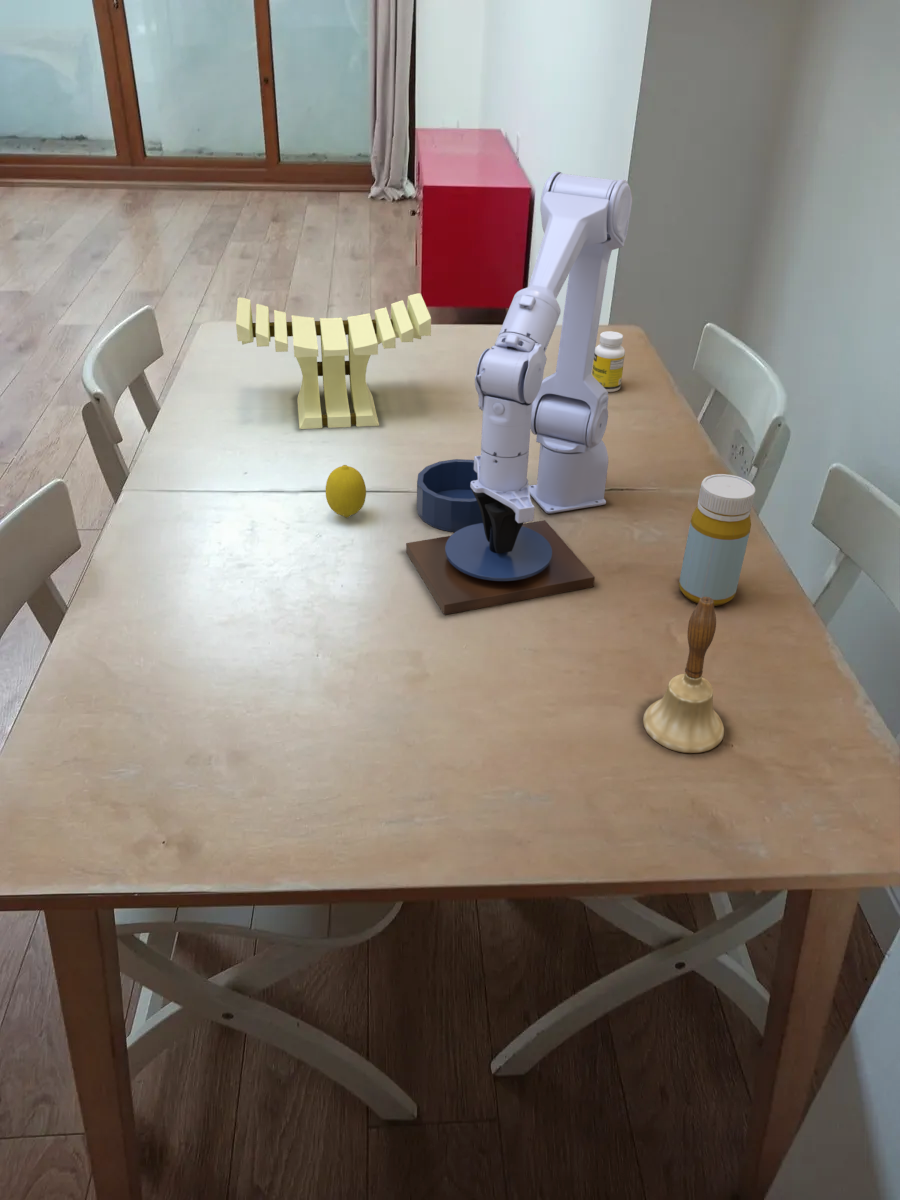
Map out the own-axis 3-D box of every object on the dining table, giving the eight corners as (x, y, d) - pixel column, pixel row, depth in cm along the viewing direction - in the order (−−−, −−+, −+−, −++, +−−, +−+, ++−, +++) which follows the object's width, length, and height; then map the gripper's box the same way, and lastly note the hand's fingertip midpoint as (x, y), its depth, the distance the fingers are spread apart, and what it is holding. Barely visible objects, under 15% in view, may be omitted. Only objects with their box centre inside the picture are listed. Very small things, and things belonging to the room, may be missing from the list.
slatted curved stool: (417, 387, 175) (418, 287, 165) (429, 423, 162) (431, 318, 152) (248, 393, 171) (238, 291, 161) (246, 431, 158) (235, 323, 148)
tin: (486, 484, 145) (488, 454, 142) (520, 524, 135) (522, 493, 132) (405, 496, 141) (405, 465, 138) (434, 538, 131) (434, 507, 128)
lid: (525, 522, 131) (528, 493, 129) (569, 574, 121) (572, 543, 118) (430, 538, 127) (431, 508, 125) (467, 593, 117) (468, 561, 114)
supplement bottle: (584, 384, 178) (590, 331, 172) (610, 380, 180) (616, 328, 174) (600, 394, 174) (607, 341, 168) (626, 390, 176) (633, 337, 170)
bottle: (737, 583, 124) (761, 478, 115) (731, 613, 118) (756, 504, 110) (682, 572, 126) (701, 468, 117) (674, 601, 120) (694, 494, 112)
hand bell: (672, 762, 97) (699, 633, 88) (627, 711, 103) (648, 586, 94) (740, 741, 99) (773, 613, 90) (692, 692, 106) (719, 569, 97)
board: (544, 529, 134) (545, 520, 133) (593, 586, 122) (594, 576, 122) (406, 552, 128) (406, 542, 127) (444, 615, 117) (444, 604, 116)
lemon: (360, 529, 133) (358, 476, 128) (321, 524, 134) (318, 472, 129) (371, 510, 137) (370, 458, 133) (333, 505, 138) (331, 454, 134)
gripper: (452, 426, 120) (450, 522, 128) (496, 478, 109) (491, 580, 116) (505, 420, 122) (499, 514, 130) (554, 470, 111) (544, 570, 118)
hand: (499, 545), depth 123 cm, fingers closed on lid, 2 cm apart
